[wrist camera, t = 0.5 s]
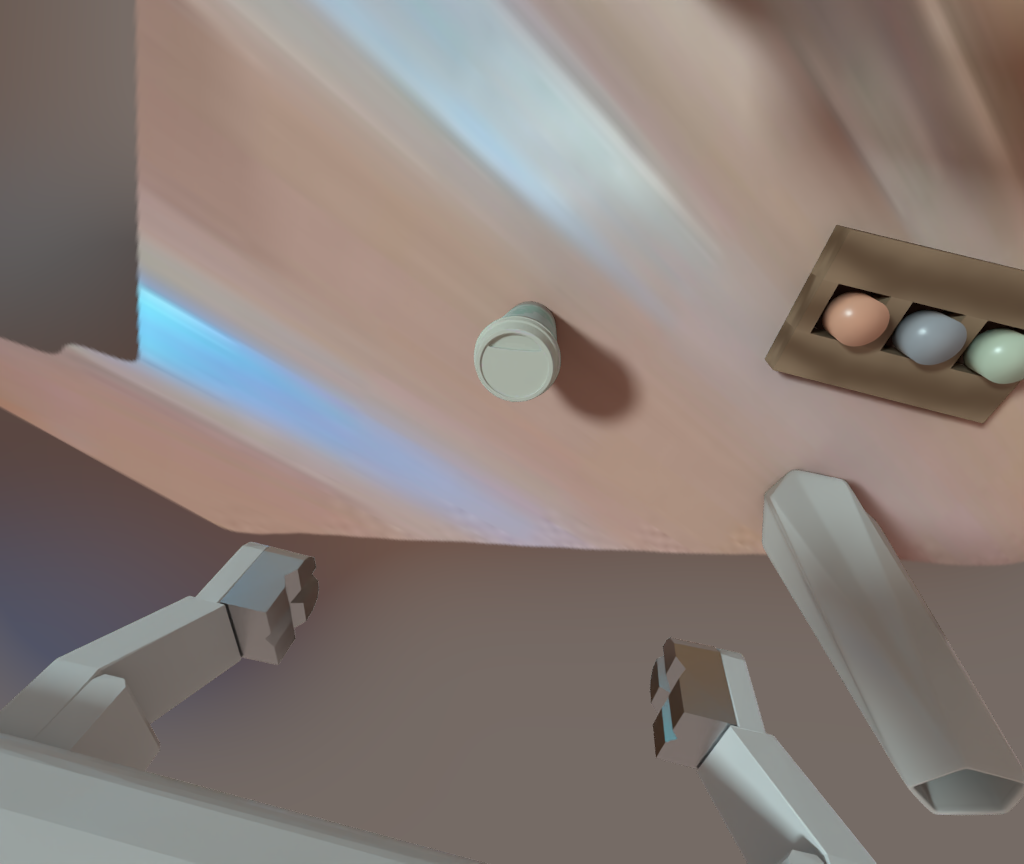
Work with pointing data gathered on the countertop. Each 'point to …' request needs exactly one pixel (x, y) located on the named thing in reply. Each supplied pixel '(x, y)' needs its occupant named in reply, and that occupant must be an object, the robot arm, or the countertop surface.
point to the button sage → (997, 355)
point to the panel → (897, 284)
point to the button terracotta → (855, 318)
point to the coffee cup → (519, 353)
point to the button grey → (929, 337)
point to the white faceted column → (888, 648)
